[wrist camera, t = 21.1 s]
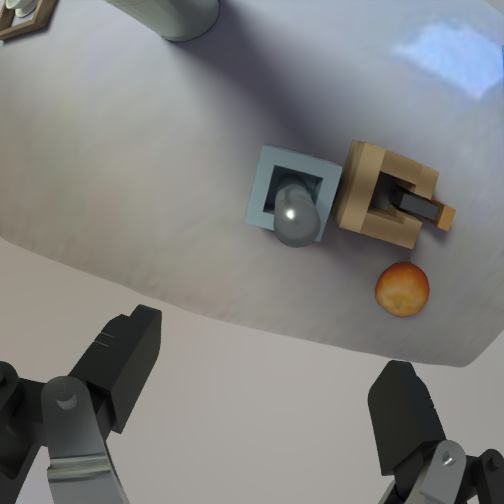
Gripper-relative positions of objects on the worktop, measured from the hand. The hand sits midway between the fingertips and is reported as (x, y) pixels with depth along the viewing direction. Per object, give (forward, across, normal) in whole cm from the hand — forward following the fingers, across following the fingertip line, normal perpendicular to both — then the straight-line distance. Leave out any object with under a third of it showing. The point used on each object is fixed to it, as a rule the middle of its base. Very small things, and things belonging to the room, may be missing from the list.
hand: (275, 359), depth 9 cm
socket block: (+30, -12, -3) cm, 33 cm away
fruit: (+30, -20, +8) cm, 37 cm away
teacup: (+31, +54, -31) cm, 70 cm away
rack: (+30, -1, 0) cm, 30 cm away
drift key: (+30, -18, -3) cm, 35 cm away
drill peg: (+29, -1, 0) cm, 29 cm away
